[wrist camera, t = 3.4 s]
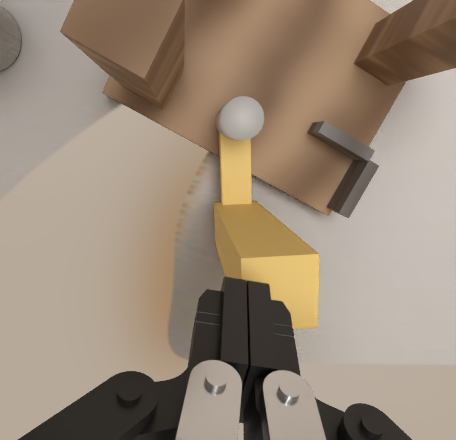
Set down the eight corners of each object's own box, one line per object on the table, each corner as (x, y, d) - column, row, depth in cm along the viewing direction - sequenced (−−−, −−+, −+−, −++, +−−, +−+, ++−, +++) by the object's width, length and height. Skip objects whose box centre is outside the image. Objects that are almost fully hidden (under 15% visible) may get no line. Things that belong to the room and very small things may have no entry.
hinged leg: (210, 104, 28) (236, 69, 14) (254, 103, 28) (322, 68, 14) (215, 243, 29) (242, 333, 16) (256, 241, 30) (318, 327, 16)
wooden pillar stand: (107, 95, 29) (17, 43, 13) (199, -96, 27) (221, -415, 12) (322, 212, 32) (454, 281, 17) (416, 49, 30) (661, -47, 15)
